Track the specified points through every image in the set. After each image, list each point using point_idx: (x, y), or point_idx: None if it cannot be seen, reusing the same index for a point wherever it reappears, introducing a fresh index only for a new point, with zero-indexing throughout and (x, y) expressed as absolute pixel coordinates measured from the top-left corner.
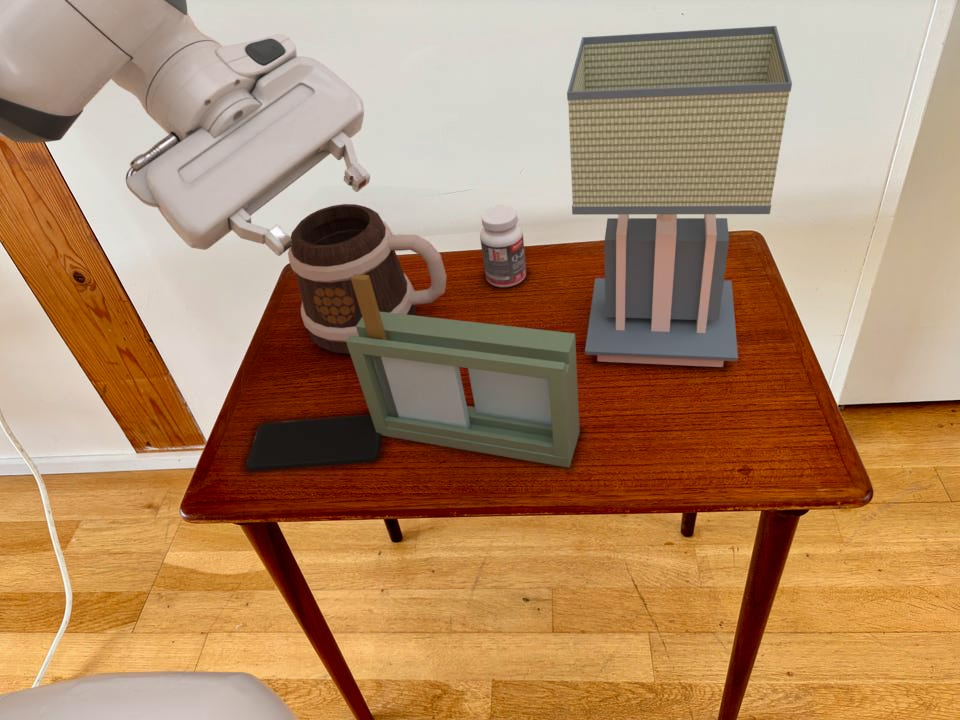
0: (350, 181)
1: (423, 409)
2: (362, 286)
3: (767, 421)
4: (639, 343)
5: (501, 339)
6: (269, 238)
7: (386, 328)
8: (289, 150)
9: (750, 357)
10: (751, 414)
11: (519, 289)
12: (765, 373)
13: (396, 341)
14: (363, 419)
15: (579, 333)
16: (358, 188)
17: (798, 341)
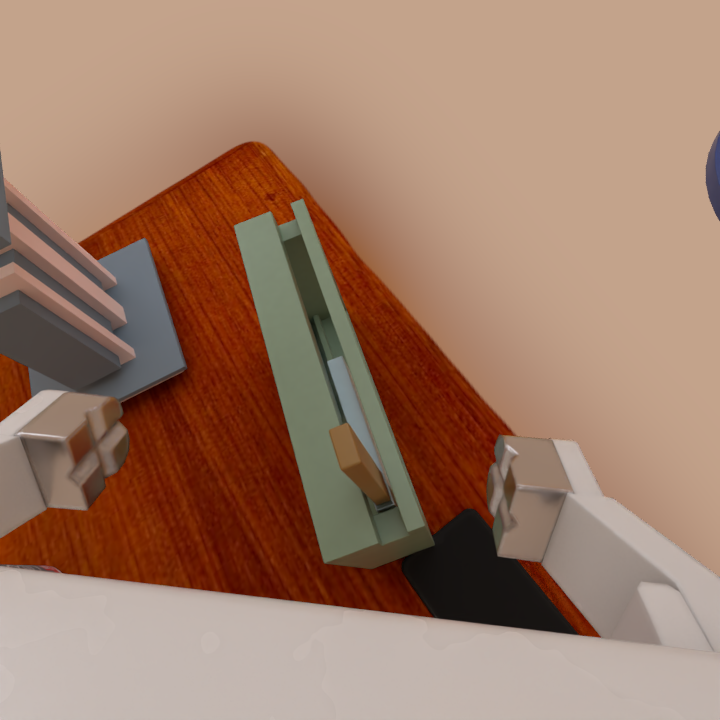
0: (96, 458)
1: None
2: (356, 441)
3: (208, 208)
4: (151, 322)
5: (285, 291)
6: (589, 473)
7: None
8: (45, 661)
9: None
10: (205, 220)
11: (68, 560)
12: (148, 234)
13: None
14: (427, 586)
15: (141, 419)
16: (121, 425)
17: (96, 232)
